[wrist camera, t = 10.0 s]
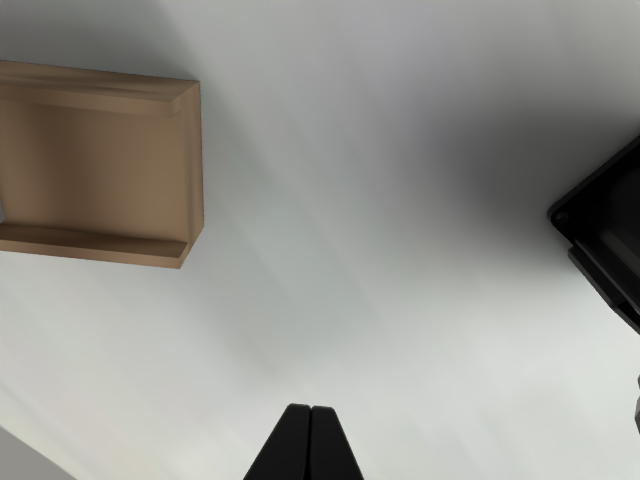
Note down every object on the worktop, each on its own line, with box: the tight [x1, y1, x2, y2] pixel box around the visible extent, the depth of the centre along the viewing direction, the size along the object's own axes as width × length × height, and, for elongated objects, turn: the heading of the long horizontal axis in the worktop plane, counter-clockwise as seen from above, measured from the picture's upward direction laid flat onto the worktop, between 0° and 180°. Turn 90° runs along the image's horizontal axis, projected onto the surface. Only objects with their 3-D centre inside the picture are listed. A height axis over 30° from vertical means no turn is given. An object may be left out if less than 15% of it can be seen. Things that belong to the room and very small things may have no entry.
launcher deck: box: [0, 60, 204, 269], centre depth 18 cm, size 8×6×4 cm
